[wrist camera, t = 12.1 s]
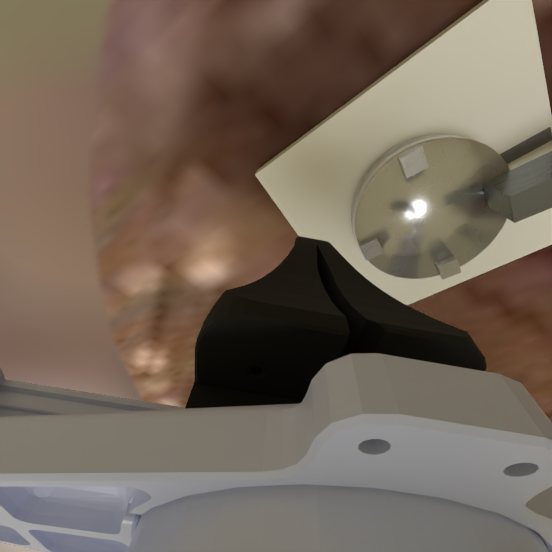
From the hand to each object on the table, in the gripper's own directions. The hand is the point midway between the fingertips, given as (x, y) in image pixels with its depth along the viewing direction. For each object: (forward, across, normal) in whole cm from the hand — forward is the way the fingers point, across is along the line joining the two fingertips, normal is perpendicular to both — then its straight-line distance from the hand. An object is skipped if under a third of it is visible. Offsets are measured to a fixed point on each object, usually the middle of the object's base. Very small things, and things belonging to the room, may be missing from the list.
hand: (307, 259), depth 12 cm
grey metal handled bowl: (+9, -11, -4) cm, 14 cm away
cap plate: (+10, -8, -1) cm, 13 cm away
